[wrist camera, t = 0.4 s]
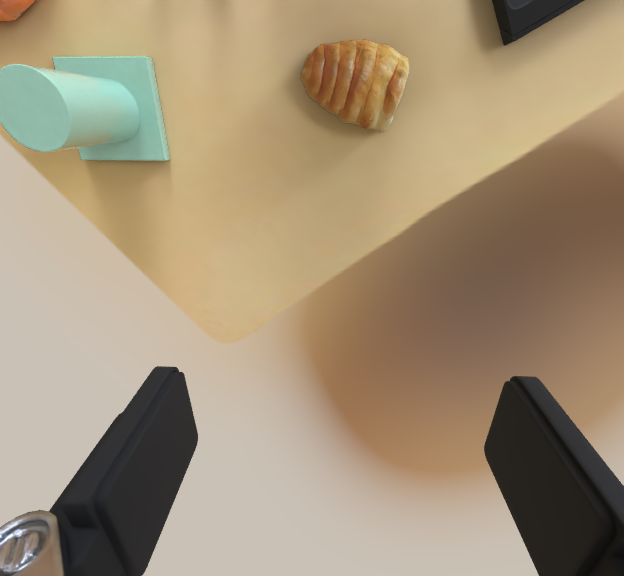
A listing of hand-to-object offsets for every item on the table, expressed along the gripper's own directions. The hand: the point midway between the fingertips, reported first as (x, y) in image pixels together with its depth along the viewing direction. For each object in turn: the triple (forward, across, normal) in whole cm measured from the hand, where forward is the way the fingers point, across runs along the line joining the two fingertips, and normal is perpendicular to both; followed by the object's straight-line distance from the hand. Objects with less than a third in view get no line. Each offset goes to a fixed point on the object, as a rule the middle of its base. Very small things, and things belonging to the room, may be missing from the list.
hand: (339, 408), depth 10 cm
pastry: (+30, -2, -10) cm, 32 cm away
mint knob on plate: (+30, +22, -8) cm, 38 cm away
